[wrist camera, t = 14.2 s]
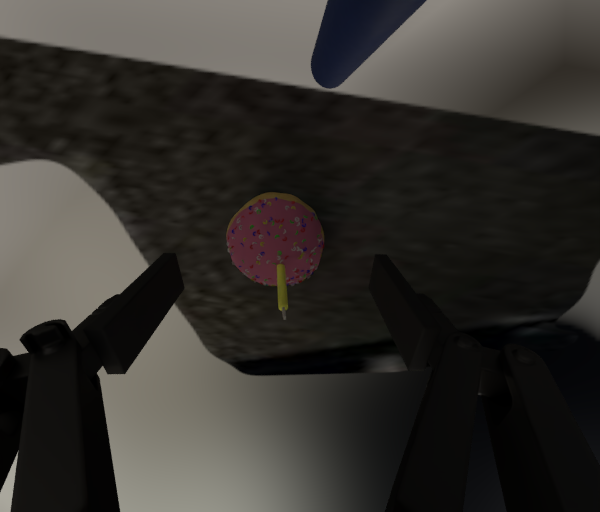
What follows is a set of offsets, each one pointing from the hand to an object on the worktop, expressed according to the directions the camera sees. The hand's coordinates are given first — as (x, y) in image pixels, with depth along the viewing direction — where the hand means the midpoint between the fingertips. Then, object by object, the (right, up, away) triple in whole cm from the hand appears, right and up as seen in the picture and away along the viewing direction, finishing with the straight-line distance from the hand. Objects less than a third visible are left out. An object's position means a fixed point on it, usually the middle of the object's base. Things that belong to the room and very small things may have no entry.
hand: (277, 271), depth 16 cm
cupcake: (-1, +4, +9) cm, 10 cm away
